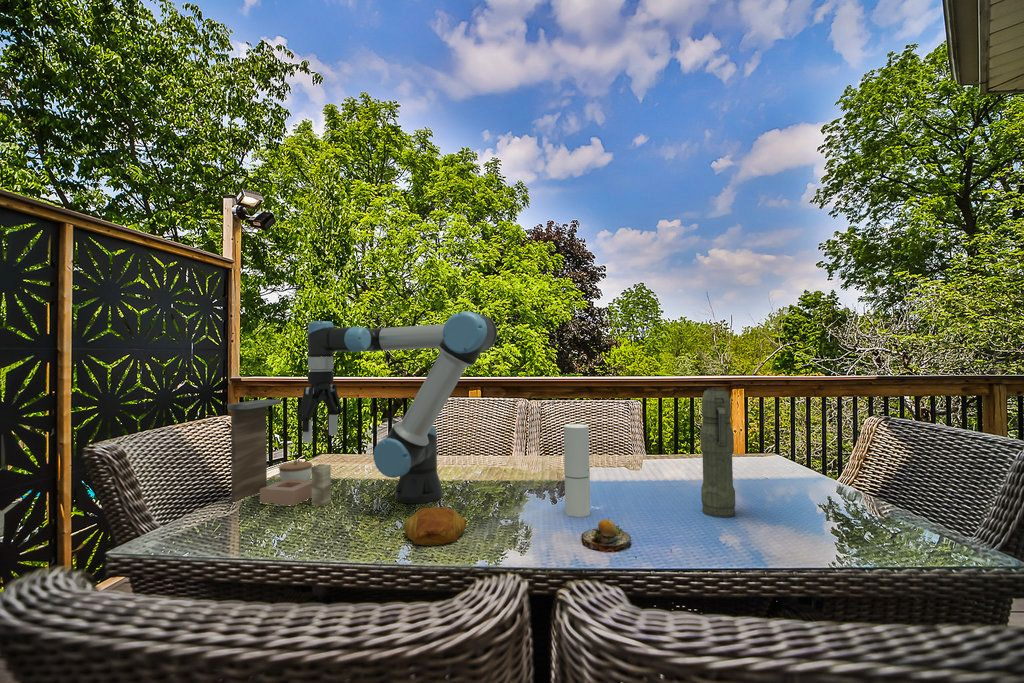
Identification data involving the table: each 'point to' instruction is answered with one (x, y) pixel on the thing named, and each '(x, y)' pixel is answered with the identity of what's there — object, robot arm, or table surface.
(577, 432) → the cylindrical container
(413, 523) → the croissant
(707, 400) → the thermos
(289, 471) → the lidded jar
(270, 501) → the socket block
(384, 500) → the table surface
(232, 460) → the capped wooden panel
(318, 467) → the peg
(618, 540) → the wood slice egg decoration
